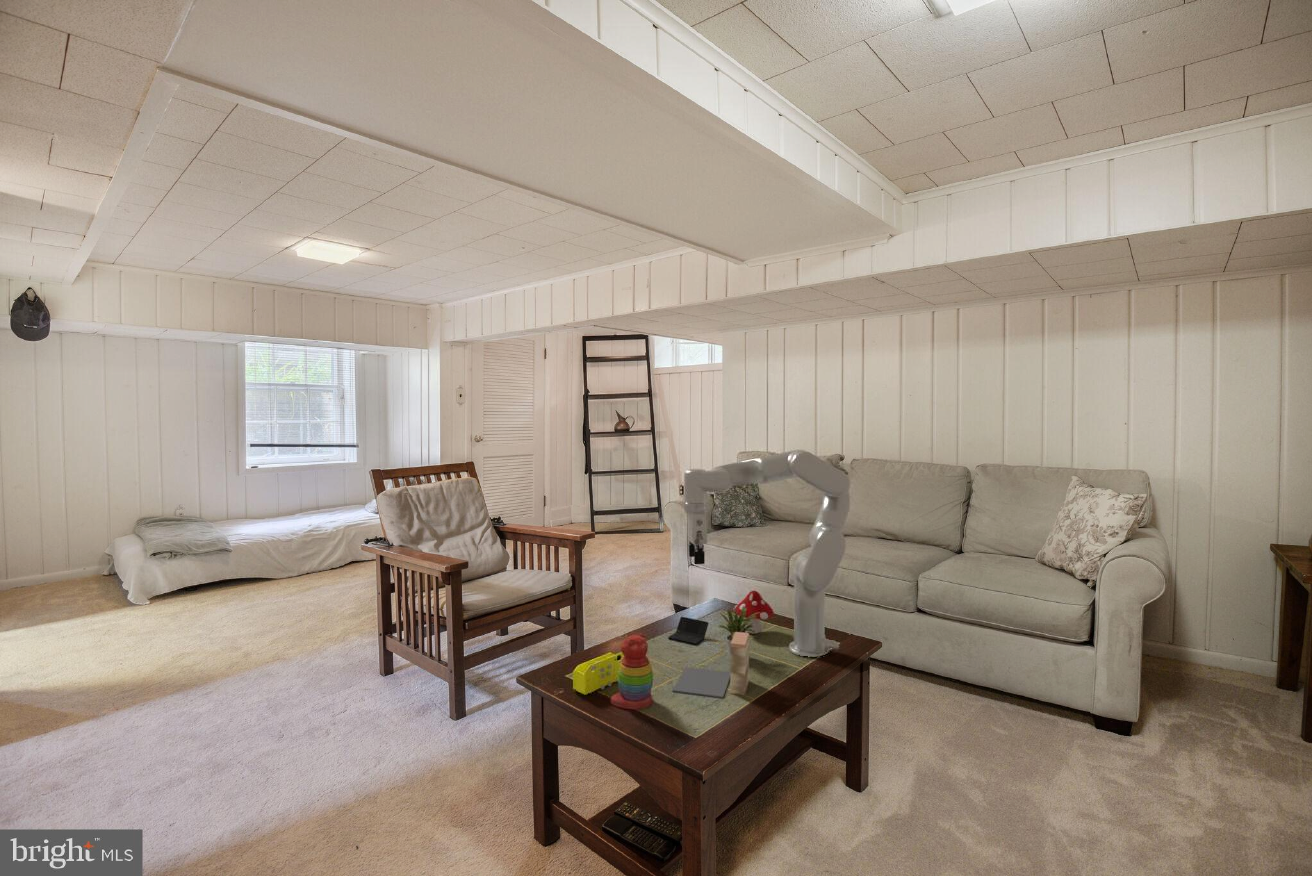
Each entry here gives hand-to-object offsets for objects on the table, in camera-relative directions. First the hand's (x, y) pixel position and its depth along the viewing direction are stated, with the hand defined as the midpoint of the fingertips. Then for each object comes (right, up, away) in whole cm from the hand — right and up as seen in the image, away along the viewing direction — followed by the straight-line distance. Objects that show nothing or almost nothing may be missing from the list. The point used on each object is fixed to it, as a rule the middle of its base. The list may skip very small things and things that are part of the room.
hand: (696, 560), depth 198 cm
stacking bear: (-19, -31, -34) cm, 50 cm away
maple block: (+10, -31, -26) cm, 41 cm away
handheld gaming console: (-2, -29, +11) cm, 31 cm away
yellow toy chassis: (-29, -31, -24) cm, 49 cm away
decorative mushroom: (+21, -29, +16) cm, 39 cm away
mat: (0, -31, -23) cm, 38 cm away
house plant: (+13, -30, -6) cm, 33 cm away
